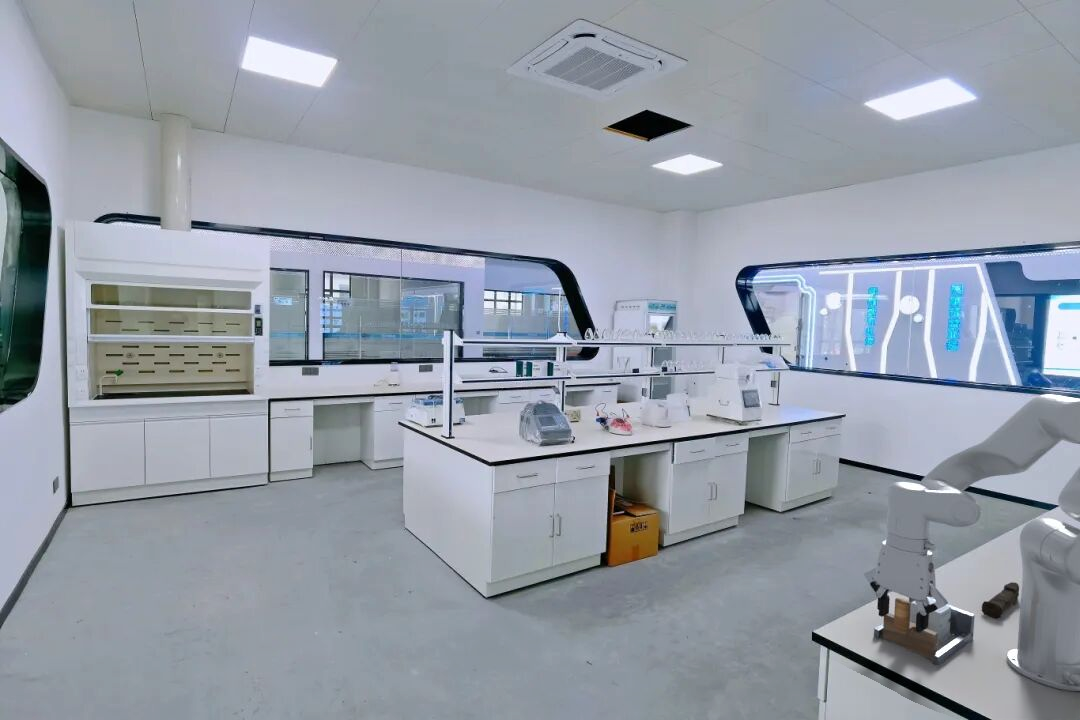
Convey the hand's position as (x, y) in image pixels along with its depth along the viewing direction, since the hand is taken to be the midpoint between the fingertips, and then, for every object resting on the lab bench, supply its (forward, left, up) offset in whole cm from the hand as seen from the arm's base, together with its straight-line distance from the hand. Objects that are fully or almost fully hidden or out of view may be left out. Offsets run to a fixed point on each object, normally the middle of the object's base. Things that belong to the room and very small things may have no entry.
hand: (901, 621), depth 118 cm
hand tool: (+17, -42, -8) cm, 46 cm away
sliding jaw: (+1, -1, -7) cm, 7 cm away
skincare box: (+6, -13, -7) cm, 16 cm away
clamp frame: (+5, -10, -7) cm, 13 cm away
